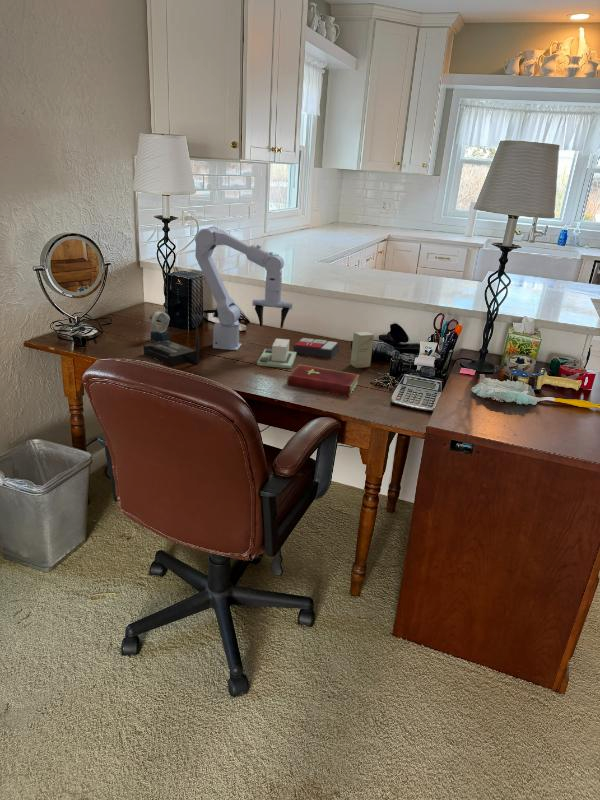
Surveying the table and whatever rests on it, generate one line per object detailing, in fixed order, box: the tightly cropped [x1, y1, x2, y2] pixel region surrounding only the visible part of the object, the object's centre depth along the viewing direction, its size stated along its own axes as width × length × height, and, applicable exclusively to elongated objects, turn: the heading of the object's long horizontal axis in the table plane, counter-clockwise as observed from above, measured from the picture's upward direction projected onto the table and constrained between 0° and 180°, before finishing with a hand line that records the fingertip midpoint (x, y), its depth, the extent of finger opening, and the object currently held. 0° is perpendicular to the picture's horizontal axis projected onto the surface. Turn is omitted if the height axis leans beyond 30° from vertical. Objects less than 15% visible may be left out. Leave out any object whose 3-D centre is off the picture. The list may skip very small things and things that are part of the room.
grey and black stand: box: [143, 316, 200, 367], centre depth 193 cm, size 20×14×17 cm
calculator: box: [292, 337, 340, 360], centre depth 213 cm, size 11×4×15 cm
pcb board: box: [256, 347, 298, 370], centre depth 201 cm, size 12×16×4 cm
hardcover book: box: [286, 363, 360, 397], centre depth 181 cm, size 12×21×4 cm, turn 72°
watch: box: [150, 310, 171, 342], centre depth 212 cm, size 6×8×11 cm
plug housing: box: [271, 338, 290, 362], centre depth 201 cm, size 5×9×6 cm, turn 174°
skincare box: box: [349, 331, 375, 369], centre depth 200 cm, size 6×4×12 cm
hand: (271, 326), depth 206 cm, fingers open, 7 cm apart
